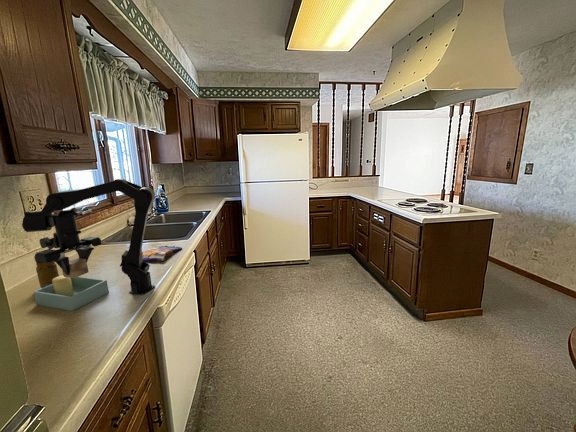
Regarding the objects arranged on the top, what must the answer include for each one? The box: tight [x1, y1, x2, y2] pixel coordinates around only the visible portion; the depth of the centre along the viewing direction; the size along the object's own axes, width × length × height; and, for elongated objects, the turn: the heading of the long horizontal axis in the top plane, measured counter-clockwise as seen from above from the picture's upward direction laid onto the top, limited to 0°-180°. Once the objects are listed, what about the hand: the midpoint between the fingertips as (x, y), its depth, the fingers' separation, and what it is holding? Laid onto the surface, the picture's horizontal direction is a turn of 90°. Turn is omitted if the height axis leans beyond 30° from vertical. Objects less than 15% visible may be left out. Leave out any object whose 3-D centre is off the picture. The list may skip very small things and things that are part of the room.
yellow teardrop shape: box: [52, 274, 74, 296], centre depth 99 cm, size 5×5×7 cm
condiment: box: [35, 261, 60, 291], centre depth 107 cm, size 7×8×12 cm
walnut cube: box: [61, 257, 89, 278], centre depth 95 cm, size 5×5×5 cm
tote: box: [33, 276, 110, 312], centre depth 98 cm, size 13×17×5 cm
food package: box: [142, 245, 183, 263], centre depth 141 cm, size 22×25×4 cm
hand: (75, 271), depth 95 cm, fingers closed on walnut cube, 5 cm apart
